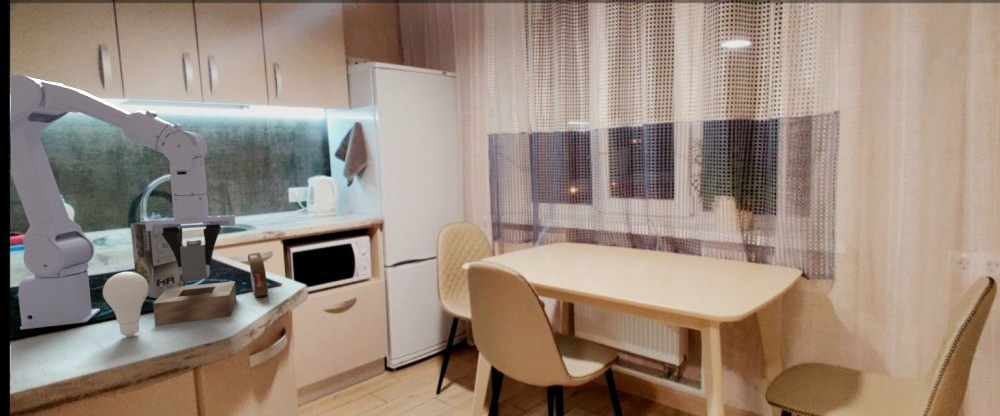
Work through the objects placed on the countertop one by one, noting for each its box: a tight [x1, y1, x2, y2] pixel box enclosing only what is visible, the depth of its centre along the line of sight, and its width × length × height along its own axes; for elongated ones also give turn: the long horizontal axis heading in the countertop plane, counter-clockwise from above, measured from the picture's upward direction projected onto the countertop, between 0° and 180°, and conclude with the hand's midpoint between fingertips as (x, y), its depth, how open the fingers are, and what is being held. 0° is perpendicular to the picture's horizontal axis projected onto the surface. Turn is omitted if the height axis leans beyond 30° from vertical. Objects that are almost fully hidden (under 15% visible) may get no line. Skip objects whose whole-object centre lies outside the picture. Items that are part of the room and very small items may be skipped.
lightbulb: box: [102, 271, 149, 338], centre depth 84 cm, size 6×6×11 cm
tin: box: [247, 252, 269, 298], centre depth 111 cm, size 15×3×8 cm, turn 29°
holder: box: [152, 280, 237, 326], centre depth 98 cm, size 12×12×4 cm
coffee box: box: [130, 221, 186, 299], centre depth 112 cm, size 9×6×16 cm
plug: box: [180, 239, 211, 282], centre depth 97 cm, size 4×4×7 cm
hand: (195, 265), depth 97 cm, fingers closed on plug, 4 cm apart
